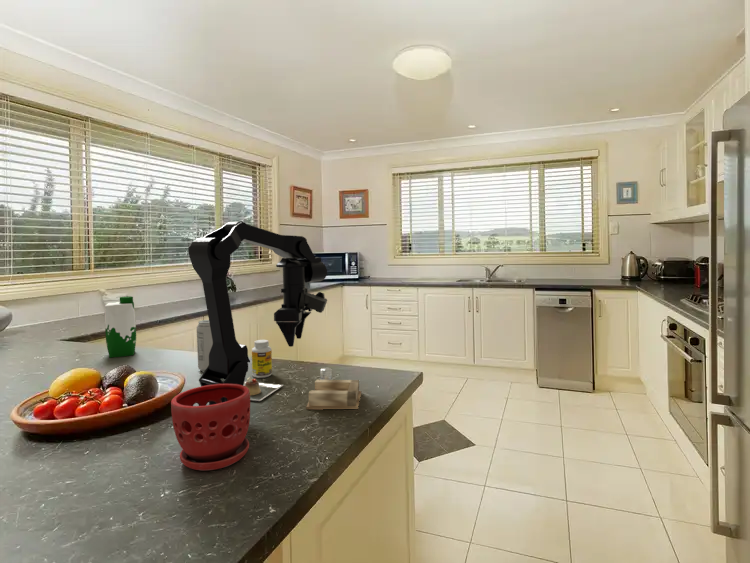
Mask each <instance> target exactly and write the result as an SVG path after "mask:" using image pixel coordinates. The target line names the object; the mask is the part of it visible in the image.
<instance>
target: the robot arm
mask: <svg viewBox="0 0 750 563" xmlns="http://www.w3.org/2000/svg"><path fill="white" fill-rule="evenodd" d="M242 242H243V243H247V244H250V245H254V246H258V247H261V248H265V249H268V250H271V251H272V252H274V254H276V255H278V256H279V257H280V258H281V259H280V261H278V262H277V264H276V265H275V267H276V268H282V288H280V289H281V290H280V292H281V294H282V296H283V297H282V298H283V299H282V300H283V301H282V302H283V303H282V304H281V307H280V308H278V309H276V311H275V312H274V313H273V321H274V322H275V323H276V325H277V327H278V328H279V329H280V332H281V334H282V335H283V337H284V340H285V342H286V344H287V345H288V347H290V348H291V347H294V344H295V338H296V339H297V340H300V339H301V338H302V336H303V331H304V328H305V323H306V322H305V321H306V319H307V318H308V317H309V316H310V315H311V314H312V311H316V313H320V314H321V313H323V312H324V310H325V307H326V304H328V299H327V298H326V297H325V293H324V292H322V291H318V292H317V293H316V294H315V293H310V292H309V288H308V287H307V286H306V283H307V284H308V283H315V282H322V281H324V280H325V279H326V278H327V274H328V269H327V267H326V264H325V263H324V262H323V261H322V257H321V256H320V257H319V256H316V255H315V254H314V252H313V250H312V249H311V247H310V244H309V243H308V241H307V238H306V237H304V236H303V235H287V234H279V233H276V232H273V231H270V230H267V229H265V228H264V229H263V228H261V227H257V226H254V225H252V224H248V223H246V222H244V221H240V220H238V221H237V220H236V221H228V222H226V223H225V224H224V225H222V226H221V227H220V228H218V229H216V230H214V231H212V232H210V233H207V234H205V235H204V236H203V237H198V238H195V239H194V240H193V241H192V242H191V243H190V245H188V248H187V250H188V252H187V253H188V256H189V259H190V262H191V265H192V267H193V270H194V271H195V273H196V274H197V275H198V277H199V278H200V279H201V283H202V289H203V293H204V300H205V304H206V310H207V311H206V312H207V317H208V320H209V323H210V329H211V334H212V340H213V345H212V347H211V350H210V353H209V366H208V367H207V369H206V370H205V371H204V372H202V373H201V375H200V377H199V379H198V383H199V385H200V387H201V386H206V385H214V384H239V385H244V381H245V379H246V376H247V372H249V363H251V360H250V358H249V349H248V348H249V347H248V346H247V345H246V344H241V343H239V342H238V341H237V338H236V332H235V331H236V330H235V324H234V319H233V313H232V307H231V306H232V305H231V300H230V295H229V294H230V293H229V288H228V281H227V276H228V273H229V270H230V269H231V268H230V267H231V262H232V261H231V255H232V254H233V253H234V252H235V251H237V250H238V249H239V248H240V246H241V244H242ZM315 256H316V257H315ZM221 401H222V403H223V402H226V401H228V400H227V398H226V397H223V398H221ZM213 404H216V403H215V402H213V401H210V402H208V405H213Z"/></svg>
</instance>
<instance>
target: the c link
mask: <svg viewBox="0 0 750 563" xmlns="http://www.w3.org/2000/svg"><path fill="white" fill-rule="evenodd" d="M359 391H360V380H359V379H332V380H321V379H315V381H314V390H313V389H312V390H309V392H308V402H309V406H356V403H357V399H358V394H359Z"/></svg>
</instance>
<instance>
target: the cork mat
mask: <svg viewBox="0 0 750 563" xmlns="http://www.w3.org/2000/svg"><path fill="white" fill-rule="evenodd" d="M360 397H361V398H362V391H361V390H359V394H358V399H357V403H356V406H309V401H308V402H307V405H306V406H305V408H306V410H323V409H358V410H359V407H358V406H360V402H361V398H360ZM359 401H360V402H359Z"/></svg>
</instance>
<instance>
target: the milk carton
mask: <svg viewBox="0 0 750 563" xmlns="http://www.w3.org/2000/svg"><path fill="white" fill-rule="evenodd" d="M136 323H137V322H136V311H135V303H134V296H131V295H129V296H127V295H126V296H120V297H119V301H116V302H107V304H105V305H104V327H105V328H104V329H105V344H106V348H107V353H108V357H109V359H110V358H120V357H131V355H132V356H134V355H135V351H136V344H137V326H136V325H137V324H136Z"/></svg>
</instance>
